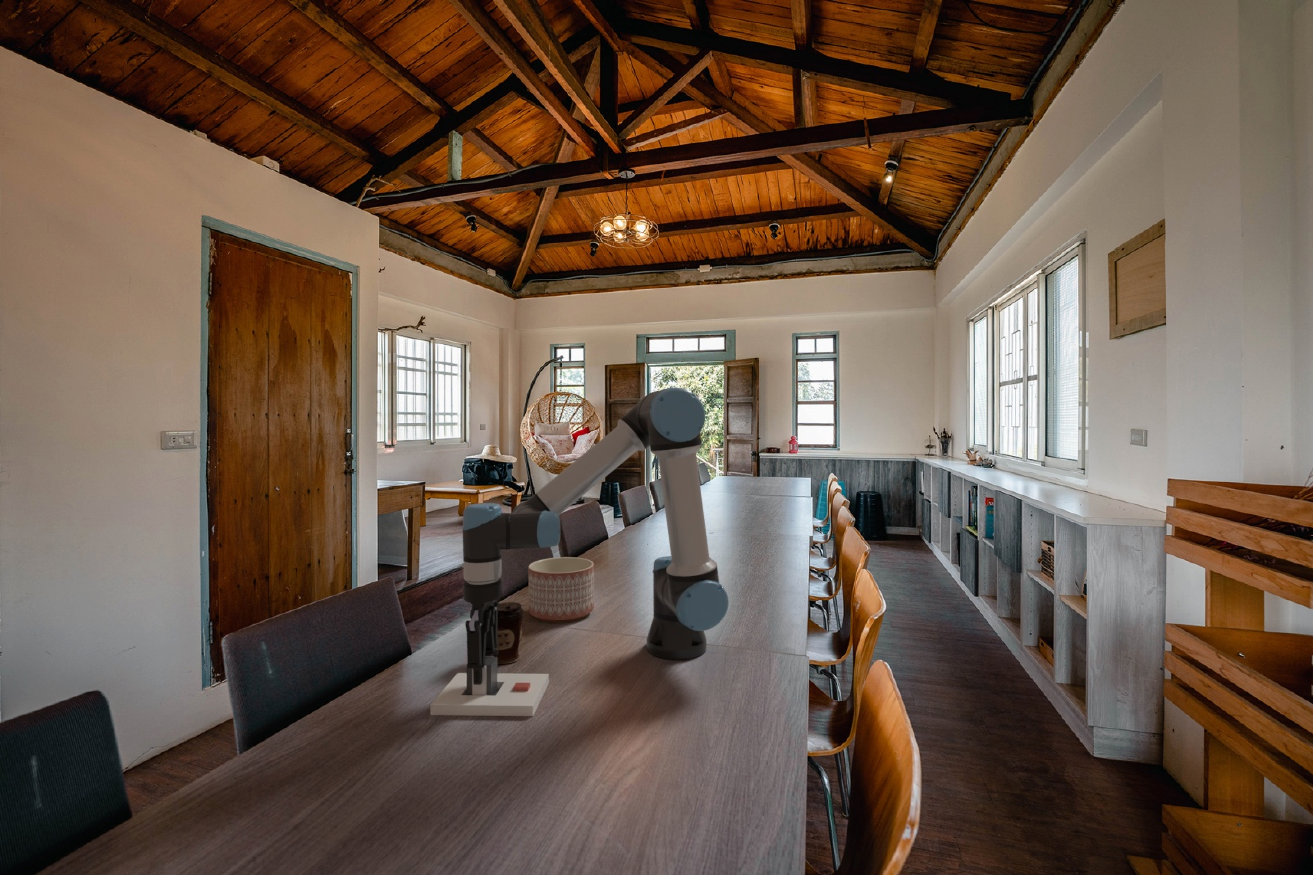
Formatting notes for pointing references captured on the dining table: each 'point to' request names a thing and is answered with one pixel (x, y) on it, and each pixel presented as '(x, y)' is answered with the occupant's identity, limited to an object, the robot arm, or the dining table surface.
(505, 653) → the coffee cup
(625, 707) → the dining table surface
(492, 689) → the plug
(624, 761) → the dining table surface
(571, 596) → the planter
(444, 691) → the faceplate
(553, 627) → the dining table surface
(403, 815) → the dining table surface
